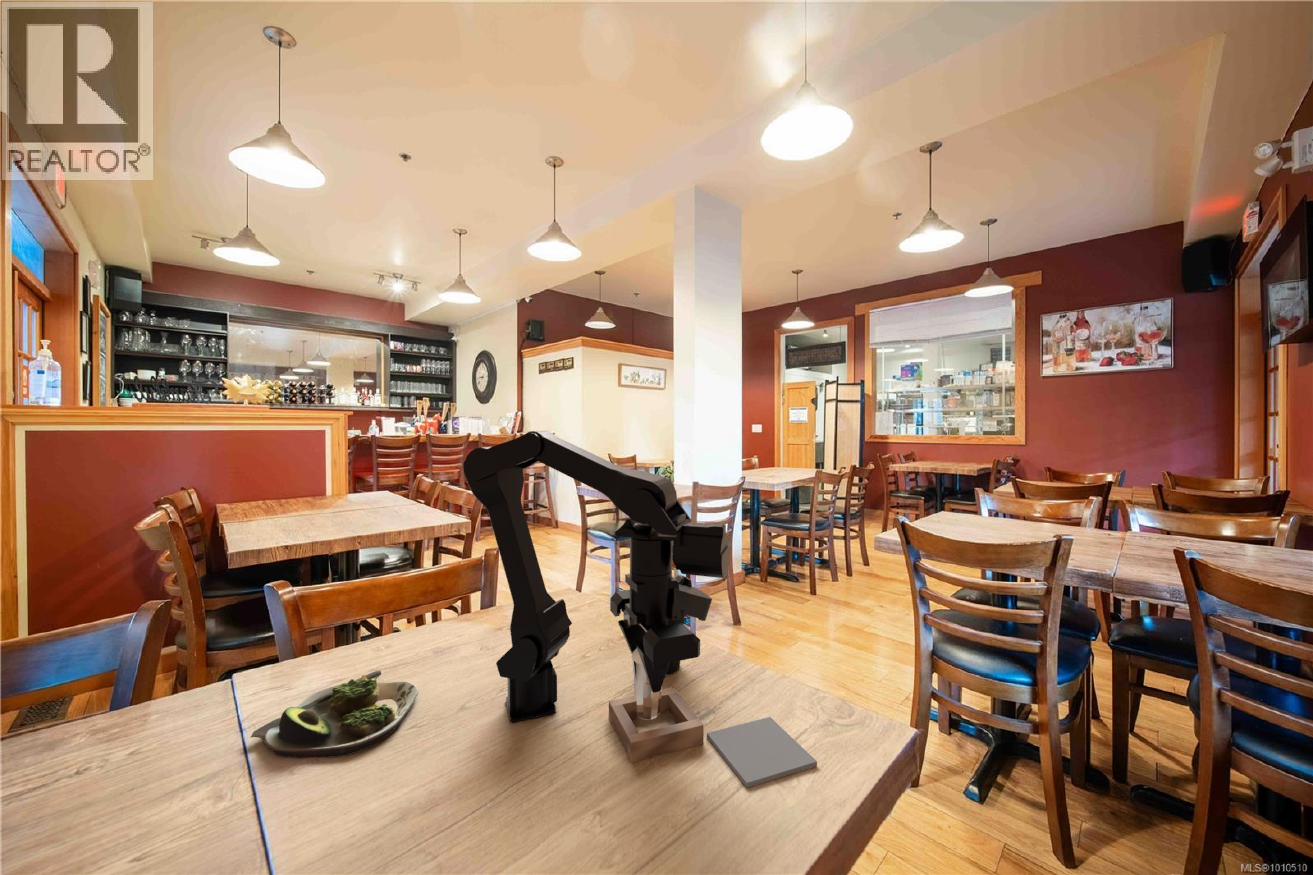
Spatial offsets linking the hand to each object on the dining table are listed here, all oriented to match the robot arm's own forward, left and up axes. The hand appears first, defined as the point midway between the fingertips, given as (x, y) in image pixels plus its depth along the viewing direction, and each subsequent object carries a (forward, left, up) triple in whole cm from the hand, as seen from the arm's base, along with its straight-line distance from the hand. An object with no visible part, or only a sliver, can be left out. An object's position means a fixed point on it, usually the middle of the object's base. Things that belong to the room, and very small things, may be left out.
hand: (650, 683), depth 69 cm
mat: (+12, -9, -7) cm, 16 cm away
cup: (+9, +16, -7) cm, 19 cm away
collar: (+1, 0, -7) cm, 7 cm away
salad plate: (-39, +18, -7) cm, 44 cm away
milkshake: (0, 0, -4) cm, 4 cm away
